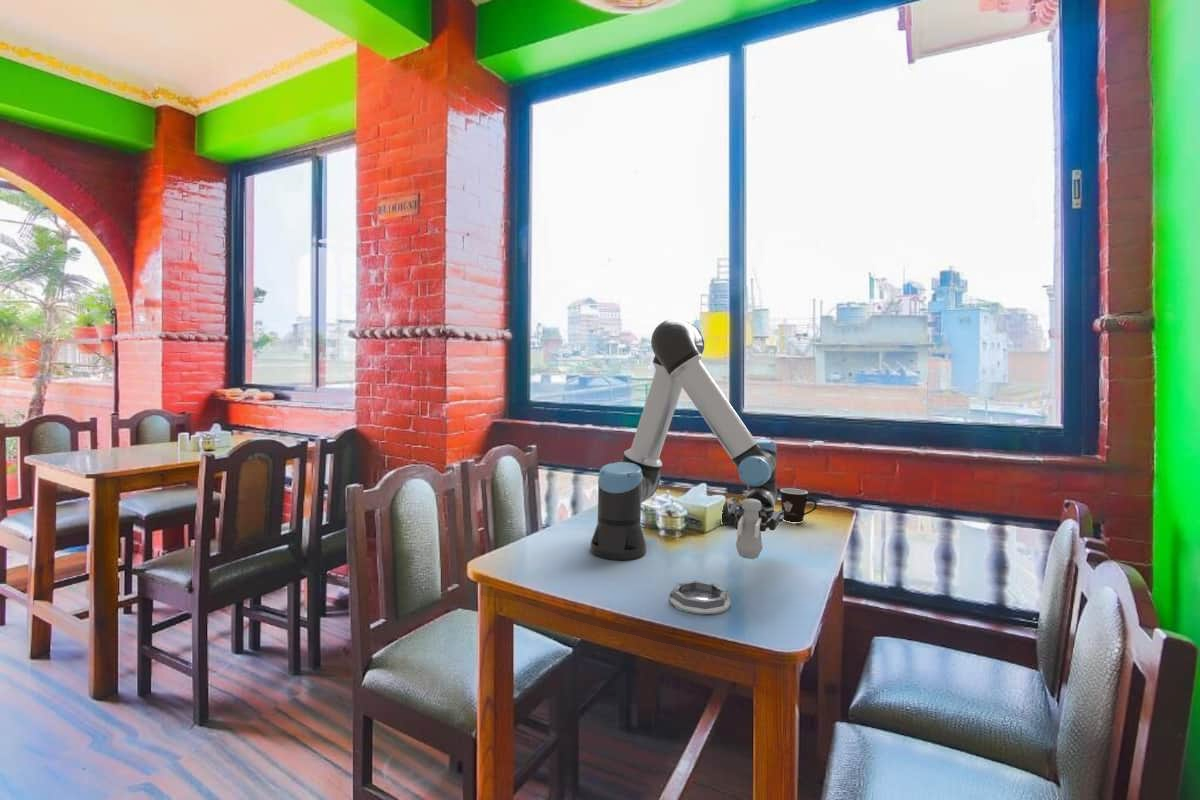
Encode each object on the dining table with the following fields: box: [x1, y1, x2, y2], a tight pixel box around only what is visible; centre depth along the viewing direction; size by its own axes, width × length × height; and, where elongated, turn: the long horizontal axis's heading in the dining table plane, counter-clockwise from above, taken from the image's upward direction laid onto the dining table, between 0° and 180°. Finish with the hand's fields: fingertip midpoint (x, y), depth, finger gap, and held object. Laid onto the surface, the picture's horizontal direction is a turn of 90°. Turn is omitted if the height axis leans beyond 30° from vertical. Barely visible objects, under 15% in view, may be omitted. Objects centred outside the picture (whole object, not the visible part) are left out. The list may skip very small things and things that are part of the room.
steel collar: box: [669, 580, 731, 615], centre depth 129 cm, size 13×13×2 cm
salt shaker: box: [735, 498, 763, 560], centre depth 134 cm, size 6×6×13 cm
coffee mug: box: [779, 487, 818, 522], centre depth 195 cm, size 12×9×10 cm
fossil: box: [722, 496, 742, 525], centre depth 192 cm, size 11×9×10 cm
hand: (747, 530), depth 129 cm, fingers closed on salt shaker, 3 cm apart
